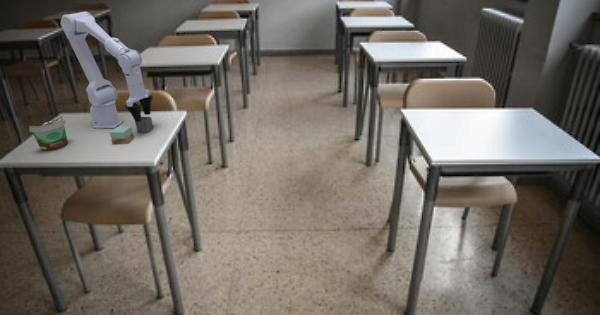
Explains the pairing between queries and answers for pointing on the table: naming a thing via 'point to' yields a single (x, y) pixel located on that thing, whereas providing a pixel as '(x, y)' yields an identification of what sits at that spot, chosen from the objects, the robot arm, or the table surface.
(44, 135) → the food container
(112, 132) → the teal slab
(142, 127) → the charcoal block
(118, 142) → the walnut slab
